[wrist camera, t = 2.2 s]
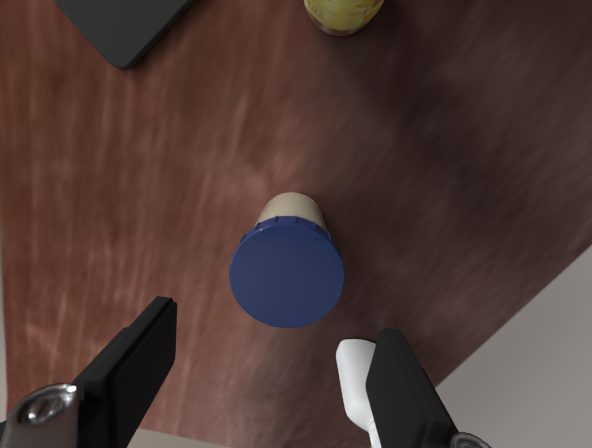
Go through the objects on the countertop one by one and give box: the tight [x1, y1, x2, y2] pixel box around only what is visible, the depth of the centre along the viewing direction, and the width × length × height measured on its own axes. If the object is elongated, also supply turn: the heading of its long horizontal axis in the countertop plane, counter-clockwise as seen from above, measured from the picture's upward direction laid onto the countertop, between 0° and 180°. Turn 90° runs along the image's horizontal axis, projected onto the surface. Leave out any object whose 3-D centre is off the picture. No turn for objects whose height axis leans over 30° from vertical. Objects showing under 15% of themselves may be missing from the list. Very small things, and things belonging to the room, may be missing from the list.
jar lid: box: [229, 215, 345, 328], centre depth 17 cm, size 7×7×2 cm
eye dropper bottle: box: [336, 339, 381, 448], centre depth 25 cm, size 4×6×12 cm
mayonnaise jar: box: [255, 192, 328, 233], centre depth 21 cm, size 6×6×11 cm
